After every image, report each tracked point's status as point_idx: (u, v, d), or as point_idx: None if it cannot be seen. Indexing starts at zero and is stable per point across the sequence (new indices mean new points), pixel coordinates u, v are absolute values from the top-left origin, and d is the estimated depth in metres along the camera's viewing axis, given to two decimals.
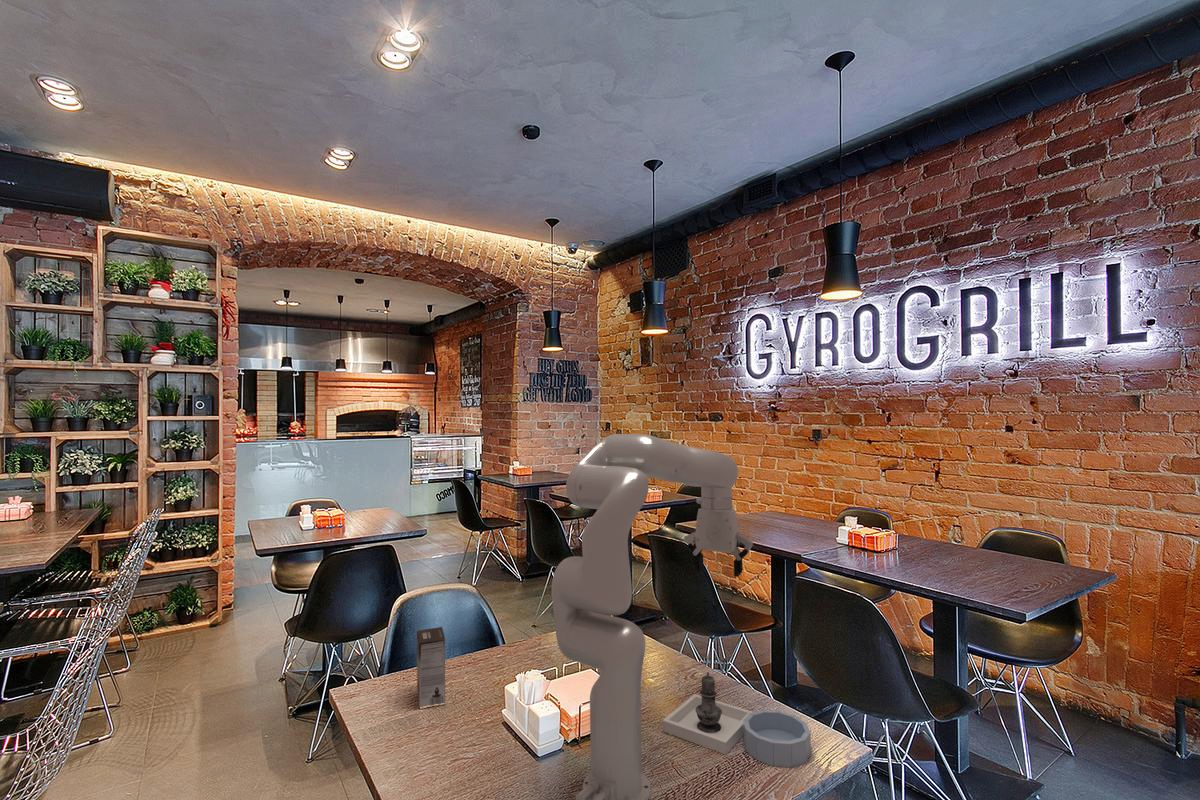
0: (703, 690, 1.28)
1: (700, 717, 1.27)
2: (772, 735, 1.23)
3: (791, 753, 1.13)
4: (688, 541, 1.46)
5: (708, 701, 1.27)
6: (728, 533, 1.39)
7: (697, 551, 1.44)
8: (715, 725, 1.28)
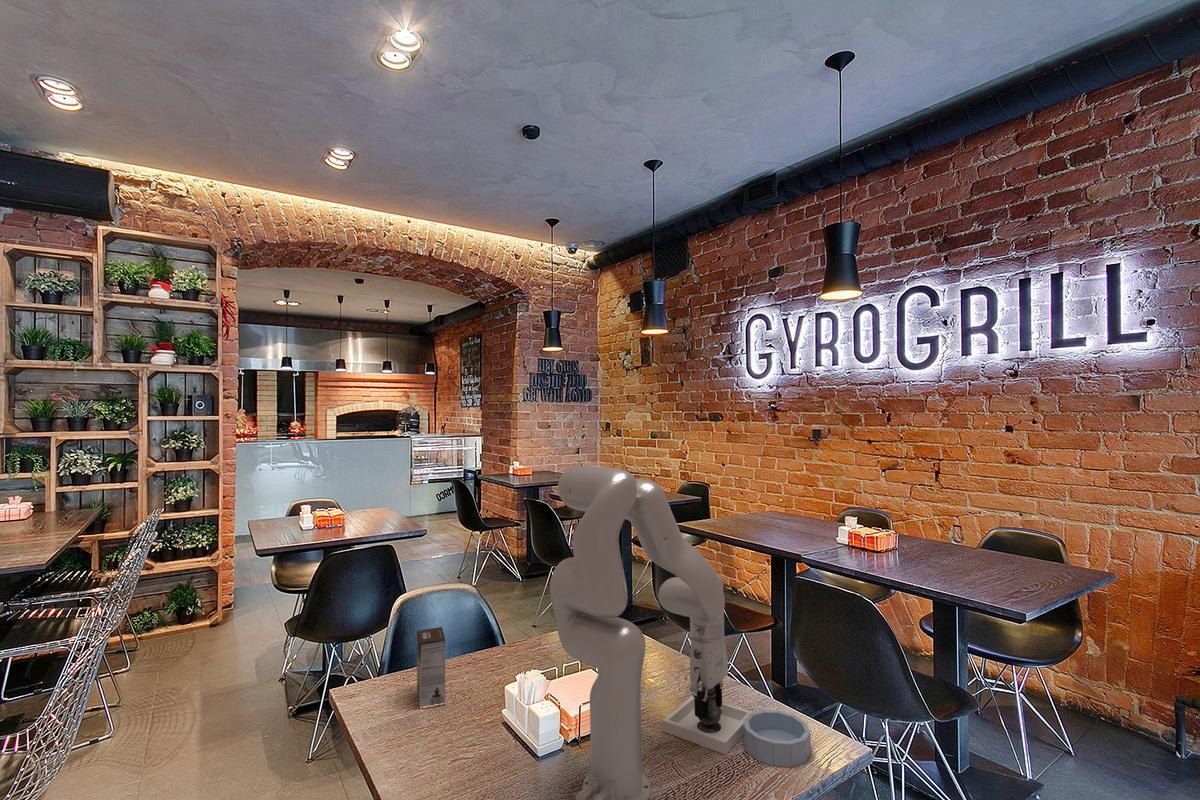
0: (703, 690, 1.28)
1: None
2: (772, 735, 1.23)
3: (791, 753, 1.13)
4: (697, 691, 1.23)
5: None
6: (725, 656, 1.30)
7: (706, 694, 1.25)
8: (715, 725, 1.28)
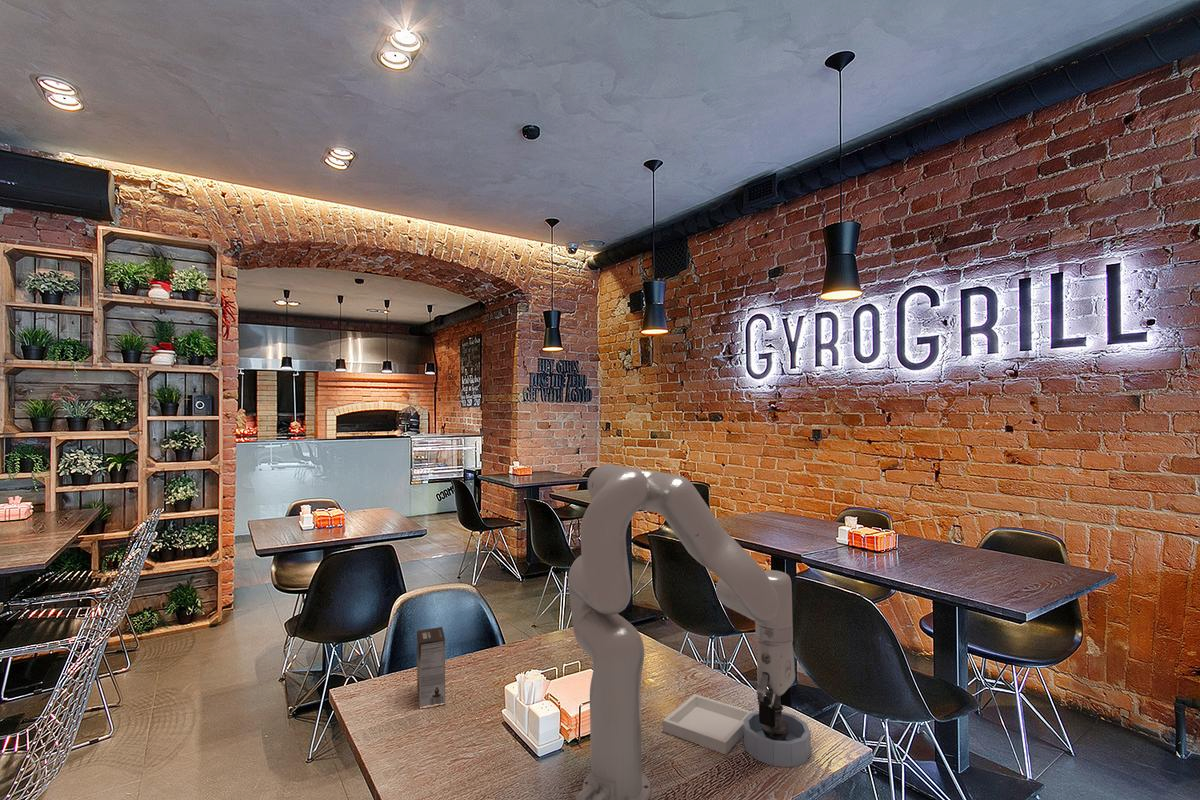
0: None
1: (767, 733, 1.18)
2: None
3: (791, 753, 1.13)
4: (764, 694, 1.14)
5: None
6: (793, 660, 1.22)
7: (773, 701, 1.16)
8: None
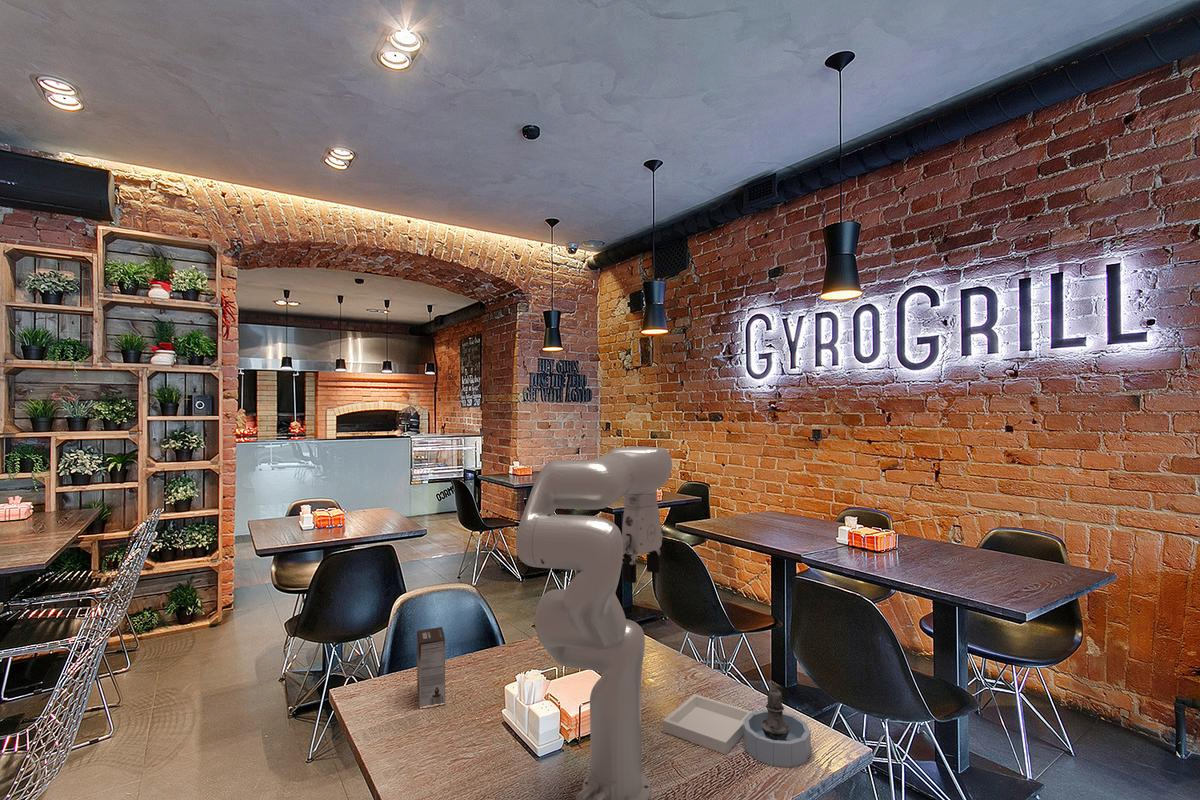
0: (770, 704, 1.19)
1: (767, 733, 1.19)
2: None
3: (791, 753, 1.13)
4: (624, 551, 1.24)
5: (775, 716, 1.19)
6: (659, 528, 1.32)
7: (634, 559, 1.26)
8: None
